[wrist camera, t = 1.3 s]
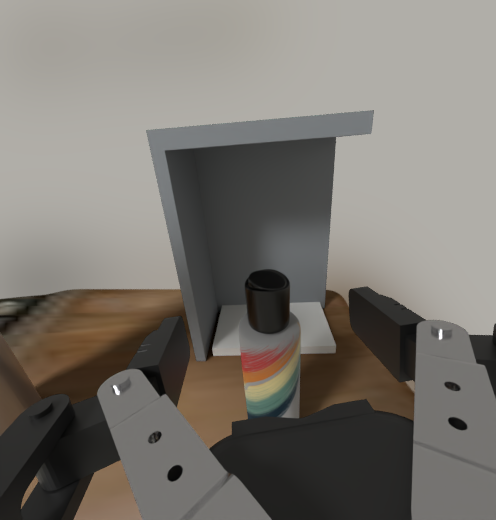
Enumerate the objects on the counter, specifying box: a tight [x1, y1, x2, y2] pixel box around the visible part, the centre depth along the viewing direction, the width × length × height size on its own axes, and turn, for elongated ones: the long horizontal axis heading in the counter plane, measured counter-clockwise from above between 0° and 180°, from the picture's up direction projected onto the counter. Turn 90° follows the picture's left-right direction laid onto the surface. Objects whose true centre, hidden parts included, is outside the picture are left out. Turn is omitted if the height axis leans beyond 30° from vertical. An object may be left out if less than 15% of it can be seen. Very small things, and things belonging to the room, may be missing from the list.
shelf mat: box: [212, 302, 336, 356], centre depth 44 cm, size 19×12×2 cm, turn 88°
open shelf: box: [146, 110, 374, 361], centre depth 38 cm, size 22×14×32 cm, turn 88°
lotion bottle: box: [238, 269, 301, 419], centre depth 25 cm, size 6×6×20 cm
